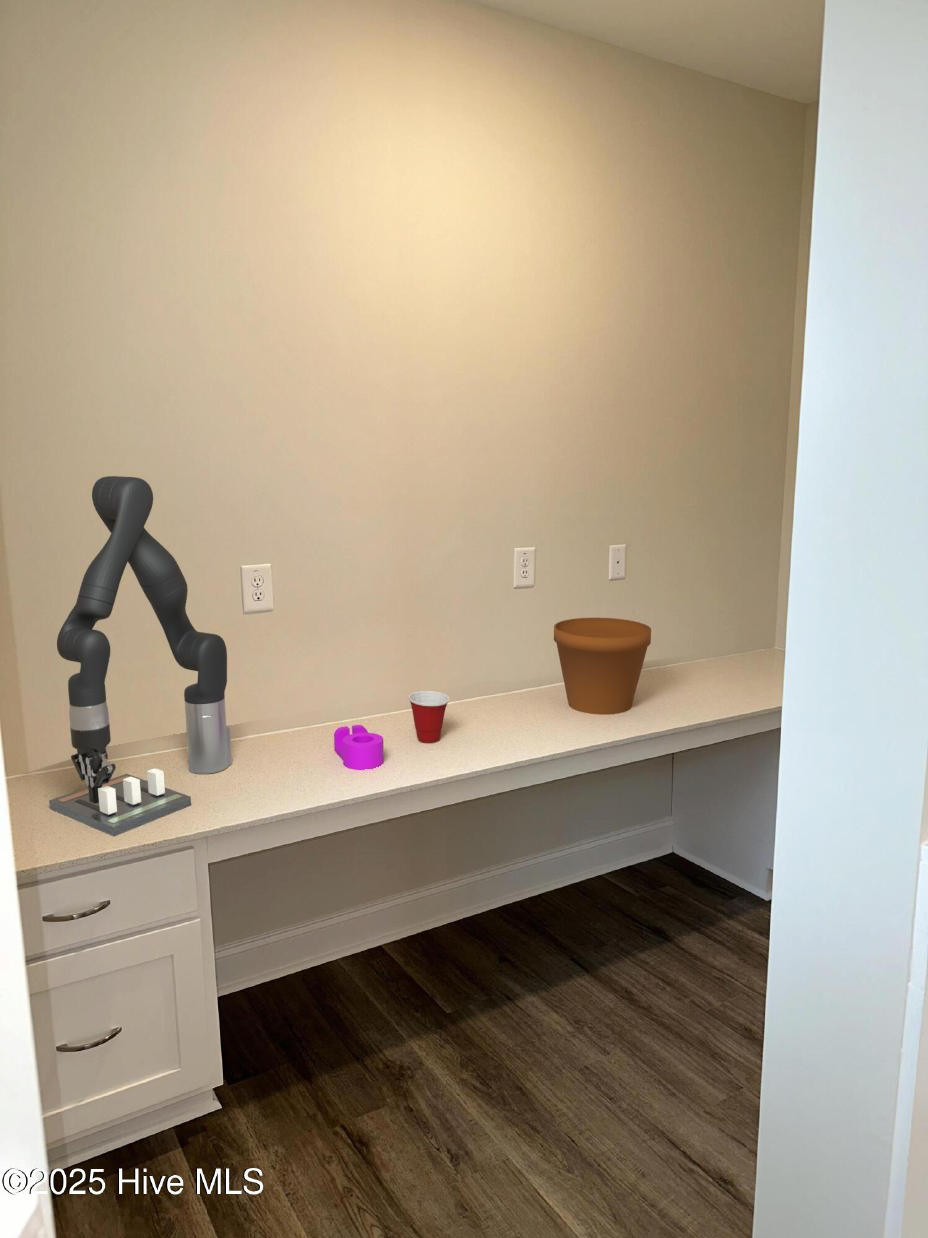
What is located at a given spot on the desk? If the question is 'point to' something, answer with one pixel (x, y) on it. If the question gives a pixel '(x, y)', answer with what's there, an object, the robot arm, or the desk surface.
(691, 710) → the desk surface
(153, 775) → the switch
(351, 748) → the tape dispenser
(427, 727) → the plastic cup
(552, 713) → the desk surface
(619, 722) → the desk surface
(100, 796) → the switch
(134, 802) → the switch middle
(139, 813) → the switch panel
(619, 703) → the flowerpot
